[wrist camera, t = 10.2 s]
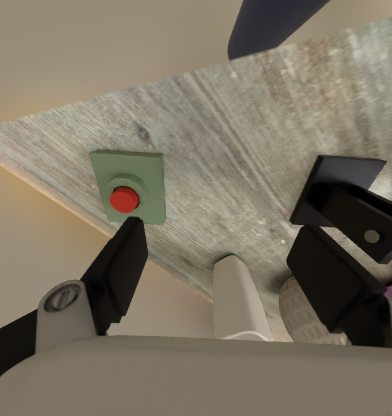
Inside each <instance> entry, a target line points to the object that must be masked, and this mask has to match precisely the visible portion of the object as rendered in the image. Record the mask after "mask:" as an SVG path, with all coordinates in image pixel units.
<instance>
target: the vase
mask: <svg viewBox="0 0 392 416" xmlns="http://www.w3.org/2000/svg"><path fill="white" fill-rule="evenodd" d="M279 310H280V314H281V317H282V320H283V323H284V325H285V327H286V329H287V331H288V333H289V335H290V336H291V338H292V339H293V341H294V342H295V343H313V344H332V345H346V344H347V336H346V335H345V333H344V332H343V333H342V334H331V333H329V331H328V330H327V328H326V326H325V325H323V324H322V323H321V321H320V320H319V318H318V316H317V315H316V313H315V311H314V310H313V308H312V306H311V304H310V303H309V301H308V299H307V298H306V296H305V294H304V293H303V291H302V289H301V287H300V286H299V284H298V282H297V281H296V279H295V277H294V276H291V277H289V278H288V279H286V280H285V281H284V283H283V285H282V287H281V290H280V294H279Z"/></svg>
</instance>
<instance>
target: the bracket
mask: <svg viewBox="0 0 392 416" xmlns="http://www.w3.org/2000/svg"><path fill="white" fill-rule="evenodd" d="M386 162H387V161H384V160H381V159H369V158H354V157H339V156H324V155H319V156H318V158H317V161H316V163H315V165H314V167H313V170H312V172H311V174H310V176H309V179H308V181H307V183H306V185H305V187H304V190H303V192H302V194H301V196H300V199H299V201H298V203H297V205H296V208H295V210H294V212H293V214H292V216H291V219H290V222H291V223H292V224H293V225H306V224H310V225H318V226H322V227H336V228H337V229H339V230H340V231H341V232H342V233H343V234H344V235H346V236H347V237H348V238H349V239H350V240H351V241H353V242H354V243H355V244H356V245H357V246H358V247H360V248H361V249H362V250H363V251H364V252H365V253H366V254H368V255H369V256H370V257H371V258H372V259H373V260H375V261H376V262H377V263H378V264H388V263H389V262H390V261H391V260H392V201H390V200H388V199H386V198H383V197H381V196H379V195H377V194H375V193H373V192H371V191H369V190H368V189H369V187H370V186H371V184H372V183H373V182H374V180H375V179H376V177H377V176H378V174H379V173H380V171H381V170H382V168H383V167H384V165H385V164H386Z"/></svg>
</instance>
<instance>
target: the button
mask: <svg viewBox="0 0 392 416" xmlns="http://www.w3.org/2000/svg"><path fill="white" fill-rule="evenodd" d="M138 202H139V197H138V195H137V193H136V192H135V191H134V190H133V189H131V188H129V187H120V188H118V189H117V190H116V191H115V192H114V193H112V194H111V196H110V204H111V205H112V207H113V208H114V209H115V210H117V211H118V212H121V213H130V212H132V211H133V210H134V208H135V207H136V206H137V204H138Z"/></svg>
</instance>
